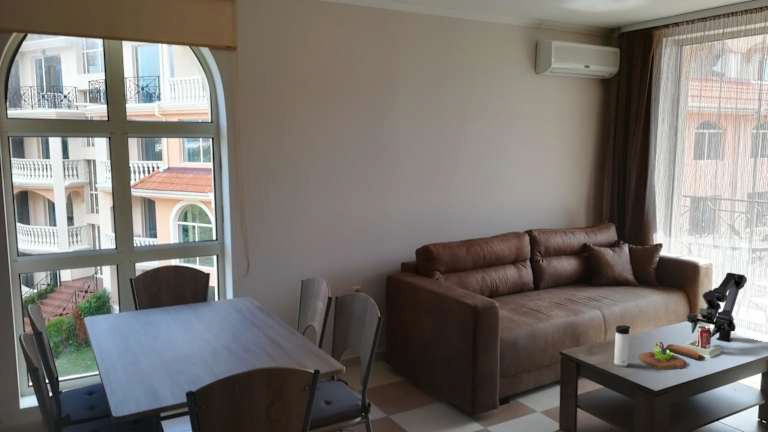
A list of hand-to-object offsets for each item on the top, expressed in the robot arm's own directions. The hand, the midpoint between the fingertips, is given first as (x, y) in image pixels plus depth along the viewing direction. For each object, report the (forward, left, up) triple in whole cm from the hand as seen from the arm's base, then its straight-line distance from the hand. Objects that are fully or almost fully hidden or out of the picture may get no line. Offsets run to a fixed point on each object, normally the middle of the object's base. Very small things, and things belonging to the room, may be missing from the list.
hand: (701, 335), depth 306 cm
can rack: (-1, 0, -9) cm, 9 cm away
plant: (+30, -7, -10) cm, 32 cm away
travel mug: (+49, -18, -9) cm, 53 cm away
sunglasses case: (+9, -3, -10) cm, 14 cm away
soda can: (-1, +1, -8) cm, 8 cm away
